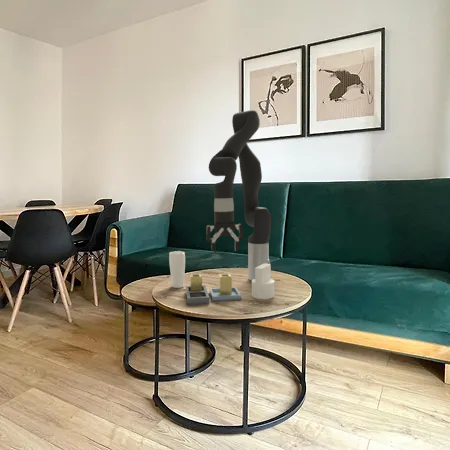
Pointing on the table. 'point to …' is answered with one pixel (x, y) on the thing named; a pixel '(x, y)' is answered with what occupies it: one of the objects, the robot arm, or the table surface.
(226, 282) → the gold square peg
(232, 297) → the parts tray
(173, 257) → the white tapered cylinder
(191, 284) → the square peg
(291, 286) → the table surface
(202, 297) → the frame
